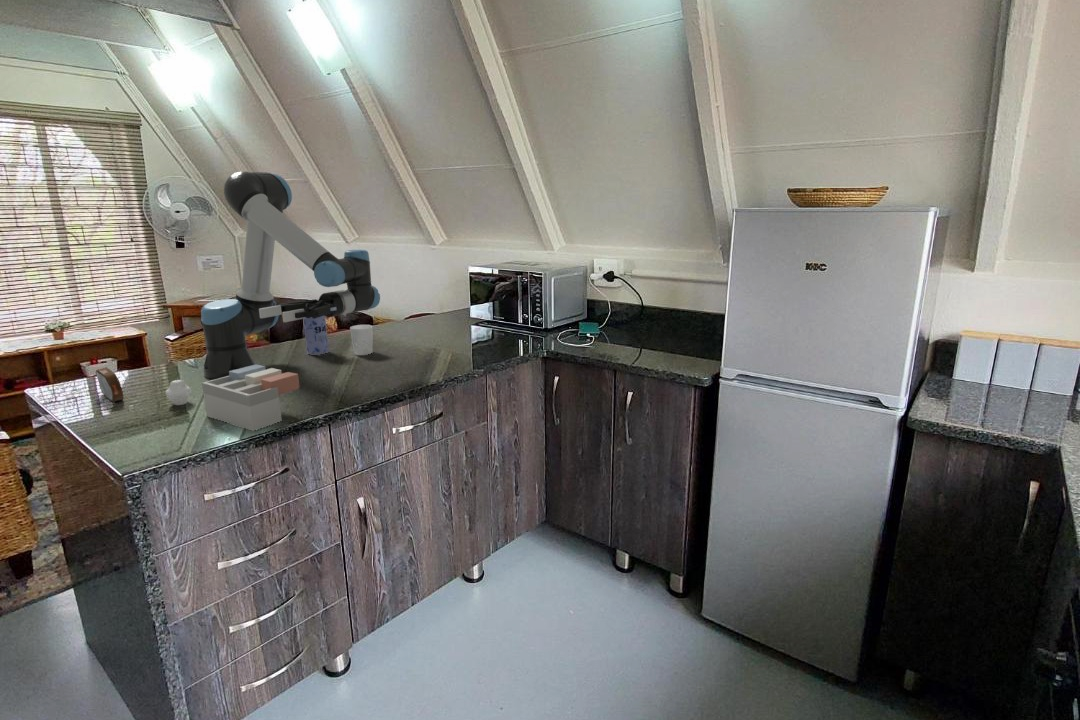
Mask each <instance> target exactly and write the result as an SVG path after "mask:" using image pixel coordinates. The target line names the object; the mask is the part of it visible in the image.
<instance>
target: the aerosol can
mask: <svg viewBox="0 0 1080 720" xmlns="http://www.w3.org/2000/svg"><path fill="white" fill-rule="evenodd" d="M312 300H317V299H316V298H315V299H309V300H308V301H312ZM326 319H327V318H326V316H321V317H318V318H315V319H314V318H312V317H311V318H306V317H305V318H304V319H303V325H304V335H305V343H306V344H305V345H306V355H307V354H315V355H318V354H324V353H327V352H329V353H330V350H329V340H328V332H327V330H328V329H327V320H326ZM324 355H325V354H324ZM318 356H319V355H318Z"/></svg>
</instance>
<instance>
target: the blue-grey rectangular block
mask: <svg viewBox="0 0 1080 720" xmlns="http://www.w3.org/2000/svg"><path fill="white" fill-rule="evenodd" d="M263 370H266V366H265V365H260V364H255V365H252V366H248V367H244V368H240V369H236V370H232V371H229V375H230V382H231V381H235V380H238V379H242V378H244V379H245V375H248V374H251V373H255V372H259V371H263Z"/></svg>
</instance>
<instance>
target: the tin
mask: <svg viewBox="0 0 1080 720" xmlns="http://www.w3.org/2000/svg"><path fill="white" fill-rule="evenodd" d="M95 376H96V378H97V382H98V386H99V388H100V391H101V393H102V395H103V396H104V397H105V398H107V399H108V401H110V402H111V401H112V403H115V402H118V401H124V392H123V391H124V390H123V388H122V385H121V382H120V380H119V378H118V377H117V375H116V373H115V372H114V371H113V370H111V368H108V367H104V368H103V367H102V368H99V369H96V371H95Z"/></svg>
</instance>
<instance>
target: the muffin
mask: <svg viewBox="0 0 1080 720" xmlns="http://www.w3.org/2000/svg"><path fill="white" fill-rule="evenodd" d="M191 393H192V388H191V387H190V386H188V385H187V384H186V383H185V381H184V380H183V379H176V380H172V381H170V383H169V386H168V388H167V389H166V390H165V395H166V397H167V398H168V399H169V401H170V402H171V403H172V404H173V405H174V406H181V405H182V406H183V405H185V404H187V403H188V401H189V399H190V397H191Z"/></svg>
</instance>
